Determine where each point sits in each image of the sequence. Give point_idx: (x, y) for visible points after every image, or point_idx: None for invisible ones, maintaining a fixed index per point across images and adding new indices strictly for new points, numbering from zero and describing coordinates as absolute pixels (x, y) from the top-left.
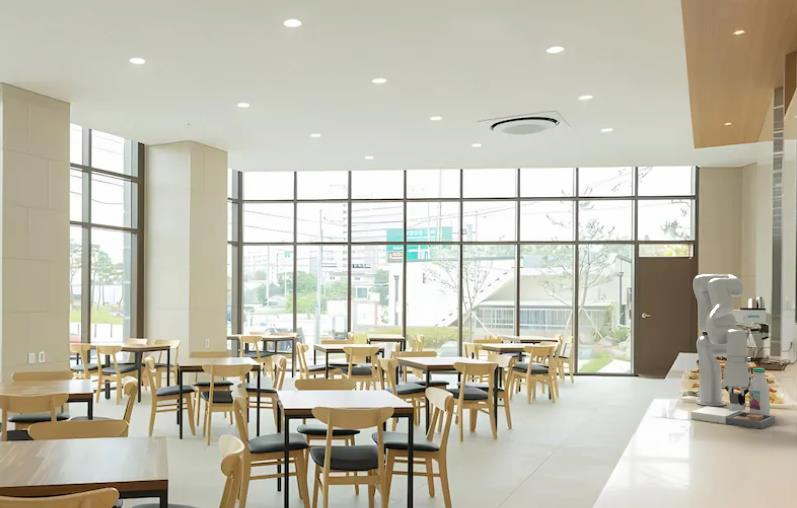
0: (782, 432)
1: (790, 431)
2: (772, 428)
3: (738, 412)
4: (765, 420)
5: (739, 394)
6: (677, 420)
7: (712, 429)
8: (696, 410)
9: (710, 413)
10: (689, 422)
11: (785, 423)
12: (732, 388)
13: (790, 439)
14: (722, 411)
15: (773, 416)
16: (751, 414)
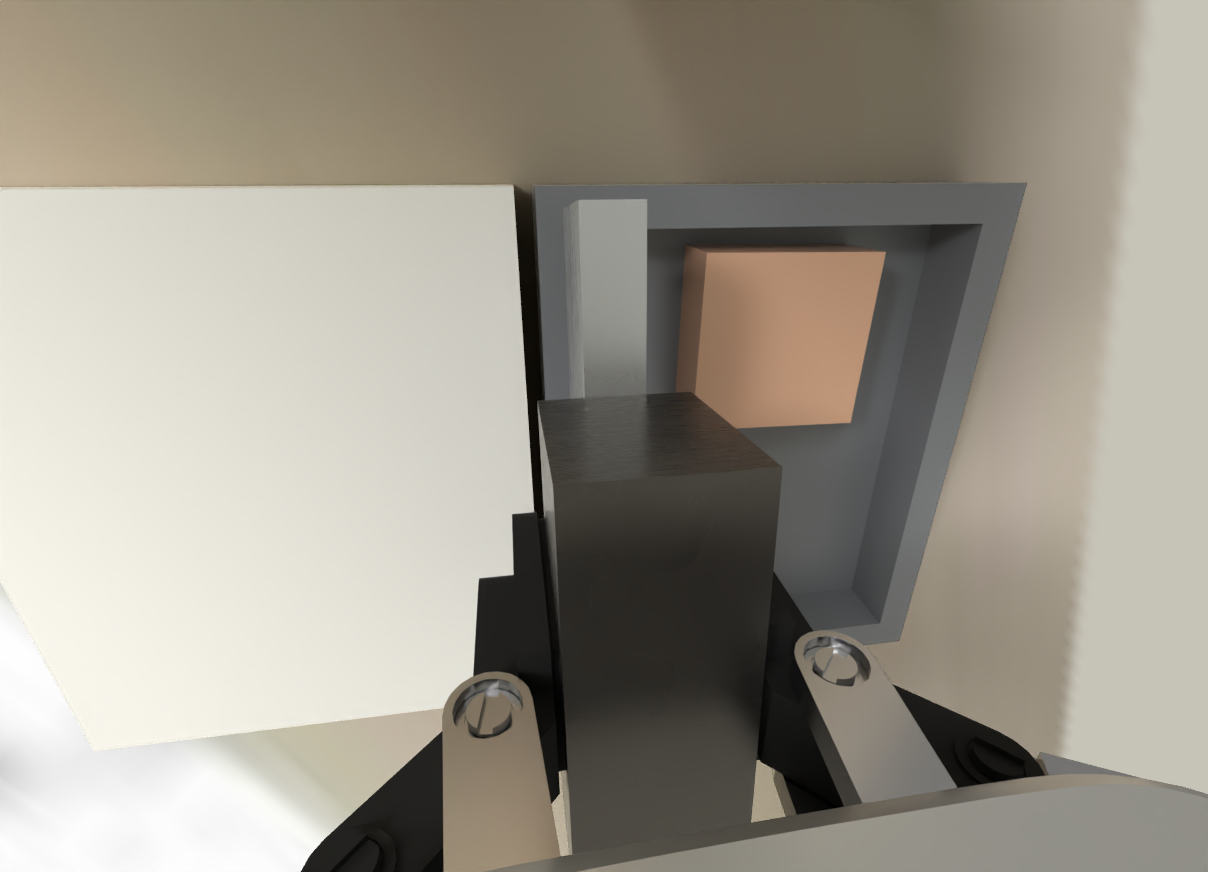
0: (1024, 594)
1: (1087, 518)
2: (948, 514)
3: (518, 271)
4: (929, 528)
5: (744, 794)
6: (127, 806)
7: (558, 844)
8: (67, 655)
9: (333, 685)
10: (268, 794)
11: (1074, 153)
12: (518, 838)
13: (1064, 732)
14: (357, 474)
15: (1009, 224)
16: (726, 300)
